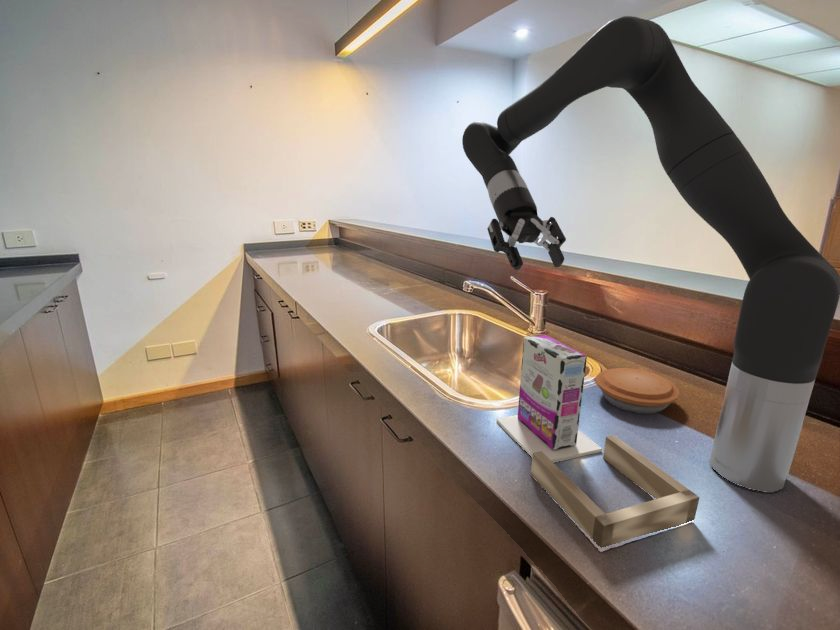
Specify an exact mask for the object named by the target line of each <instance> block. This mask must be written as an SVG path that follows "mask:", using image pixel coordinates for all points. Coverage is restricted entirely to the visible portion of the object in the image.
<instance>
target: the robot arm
mask: <svg viewBox="0 0 840 630" xmlns="http://www.w3.org/2000/svg"><path fill="white" fill-rule="evenodd" d="M673 44H674V43H672V40H671V39H670V37H669V35H668V33H667V32H666V31H665V29H664V28H663V27H662V26H661V25H660V24H658V23H657V22H654V21H652V20H650V19H645V18H640V17H638V16H632V15H631V16H630V15H622V16H618V17H616V18H613V19H611V20H609V21H608V22H607V23H605V24H604V25H602V27H600V28H599V29H598V30H597V31H596V32H595V33H594V34H593V35H592V36H591V37H589V38H588V40H586V41H585V42H584V43H583V44H582V45H581V47H579V48H578V49H577V50H576V51H575V52H574V53H573V54H572V55H571V56H570V57H569V58H568V59H567V60H566V61H565V62H564V63H563V64H562V65H560V66H559V67H558V68H557V69H556V70H555V71H553V73H551V74H550V75H549V76H548V77H547V78H546V79H544V81H542V82H541V83H540V84H538V85H537V86H536V87H535V88H533V89H532V90H530V91H529V92H528V93H526V94H525V95H523V96H521V97H520V98H518V99H517V100H515V102H513V103H512V104H510V105H509V106H507V107H506V108H505V109H503V111H501V112H500V114H499V115H498V117H497V121H496V126H497V127H496V126H494V125H492V124H490V123H487V122H485V121H479V120H478V121H476V120H475V121H473V122H471V123H469V124H468V125H467V126H466V128H465V129H464V131H463V135H462V138H461V140H462V148H463V152H464V154H465V156H466V157H467V159H468V160H469V162H470V164H472V166H473V167H474V168H475V170H476V171H477V172H478V173H479V175H480V176H481V177H482V181H483V183H484V185H485V187H486V190H487V192H488V197H489V200H490V203H491V206H492V208H493V210H494V213H495V216H496V218H492V219H491V221H490V223H489V225H488V226H487V233H488V235H489V239H490V241H491V246H492V248H493V251H494V252H495V253H500V252H503V253H504V255H506V257H507V259H508V262H509V265H510V266H511V267H512V268H513V270H514V271H519V270H520V269H521V268H522V266H523V264H524V261H523V259H522V257H521V254H520V252H519V250H518V247H516V246H515V245H516V244H517V243H518V244H524V243H529V244H531V243H532V244H533V243H534V244H535V245H536V246H538V247H543V249H545V250H546V251H548V256H549V257H550V260H551V261H552V264H553V266H554V268H560V267H561V266H562V265H563V263H564V262H565V257H564V256H565V255H564V253H563V252H562V250H561V247H562V246H563V244H564V243H565V242H566V241H567V238H566V236H565V234H564V233H563V231H562V229H561V227H560V225H559V224H558V221H557V219H555V217H553V216H550V217H549V219H547V220H542V219H541V217H539V215H538V207H537V205H536V203H535V200H534V198H533V196H532V195H531V192H530V189H529V187H528V185H527V183H526V182H525V180H524V178H523V177H522V175H521V173H520V172H519V170H518V168H517V165H516V163H515V161H514V159H513V158H512V156H511V154H512V153H513V151H514V150H516V149H517V147H518V146H519V145H520V143H522V142H523V141H525V140H526V139H529V138H530V137H532V136H533V135H535V134H537V133H539V132H540V131H542V130H543V129H545V128H546V127H548V126H549V125H550V124H552V123H553V122H554V121H555V119H557V118H558V116H559V115H561V113H562V112H563V110H565V108H567V107H568V106H569V105H571V104H572V103H573V102H575V101H577V100H578V99H580V98H582V97H584V96H586V95H589V94H591V93H594V92H596V91H599V90H601V89H604V88H615V89H623V90H625V91H626V92H627V94H629V95H630V96H631V97H632V99H633V100H634V101H635V102H636V103H637V104H638V106H639V107H640V108H641V110H642V112H644V114H645V116H646V117H647V119H648V121H649V123H650V126H651V128H652V132H653V136H654V140H655V141H654V143H655V146H656V151H657V156H658V158H659V161H660V164H661V167H662V169H663V170H664V172H665V174H666V175H667V176H668V179H670V181H671V183H672V184H673V186H674V187H675V189H676V190H677V191H678V193H679V195H680V196H681V197H682V198H683V200H684V201H685V202H686V203H687V204H688V206H689V207H690V208H691V209H692V210H693V211H694V212H695V213H696V214H697V215H698V216H699V217H700V218H701V219H702V220H703V221H704V222H705V223H707V225H709V227H711V229H714V231H716V233H718V234H719V235H720V236H721V237H722V238H723V239H724V240H725V242H727V244H728V245H729V246H730V248H731V249H732V250H733V252H734V254H735V255H736V256H737V259H739V262H740V263H741V265H742V267H743V269H744V271H745V273H746V275H747V277H748V279H749V281H748V283H747V284H746V287H745V290H744V292H743V297H742V300H741V305H740V311H739V316H738V320H737V325H736V331H735V334H734V338H733V339H734V340H733V356H732V359H731V360H732V361H731V365H730V369H729V373H728V378H727V383H726V386H725V391H724V396H723V401H722V405H721V408H720V409H721V410H720V412H719V413H720V414H719V417H718V423H717V426H716V432H715V435H714V440H713V443H712V447H711V452H710V457H709V462H710V463H709V465H710V464H711V465H710V467H711V466H712V467H713V469H714V470H716V471H717V472H718V473H719V474H721V475H722V476H723V477H725V478H726V479H728V480H729V481H731V482H734V483H736V484H739V485H742V486H744V487H747V488H751V489H755V490H759V491H767V492H766V493H775V492H774V491H777V492H779V491H778V490H780V489H781V490H782V489H784V486H785V484H786V477H787V476H788V477H789V475H790V474H789V473H790V469H791V467H792V464H793V460H794V456H795V454H796V453H795V452H796V449H797V446H798V444H799V439H800V437H801V432H802V429H803V424H804V419H805V417H806V413H807V410H808V407H809V403H810V399H811V396H812V393H813V392H812V391H813V388H814V385H815V381H816V379H817V375H818V373H819V369H820V366H821V363H822V359H823V355H824V352H825V351H824V350H825V349H826V344H827V341H828V338H829V336H830V331H831V328H832V326H833V325H832V324H833V321H834V318H835V314H836V311H837V307H838V304H839V301H840V274H839V273H838V271H837V269H836V268H835V267H834V266H833V265H832V264H831V263H830V262H829V261H828V260H827V259H826V258H825V257H824V256H823V255H822V254H821V253H820V252H819V251H818V249H816V248H815V247H814V246H813V244H811V243H810V241H808V239H806V237H805V236H804V235H803V234H802V232H801V231H799V229H798V228H797V227H796V226H795V225H794V223H793V222H792V221H791V220H790V219H789V217H788V216H787V214H786V213H785V211H784V210H783V208H782V207H781V204H780V203H779V200H778V199H777V196H776V195H775V193H774V191H773V190H772V188H771V186H770V184H769V183H768V181H767V179H766V177H765V175H763V173H762V171H761V170H760V168H759V166H758V165H757V163H756V162H755V160H754V159H753V157H752V156H751V154H750V152H749V151H748V149H747V148H746V147H745V145H744V144H743V143H742V141H741V140H740V138H739V137H738V135H736V132H735V131H734V130H733V129H732V127H731V126H730V125H729V124H728V123H727V122H726V120H725V119H724V118H723V116H722V115H721V114H720V113H719V111H718V110H717V109H716V108H715V107H714V105H713V103H711V101H710V100H709V99H708V98H707V97H706V95H705V94H703V93H702V91H701V90H700V89H699V88H698V87H697V86H696V84H695V82H694V81H693V80H692V78H691V76H690V75H689V72H688V71H687V70H686V67H685V66H684V64H683V61H682V60H681V58H680V56H679V54H678V52H677V50H676V48H675V47H674V45H673ZM503 233H505V234H506V235H507V236H508V239H507V241H505V238H504V234H503ZM541 234H542V237H541V238H539V237H540V235H541ZM548 242H549V243H548ZM712 467H711V468H712ZM713 469H712V470H713ZM714 470H713V471H714ZM723 477H722V478H723ZM788 477H787V478H788ZM726 479H725V480H726ZM728 480H727V481H728ZM729 481H728V482H729ZM731 482H730V483H731ZM736 484H735V485H736ZM781 490H780V491H781ZM759 491H758V492H759Z"/></svg>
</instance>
